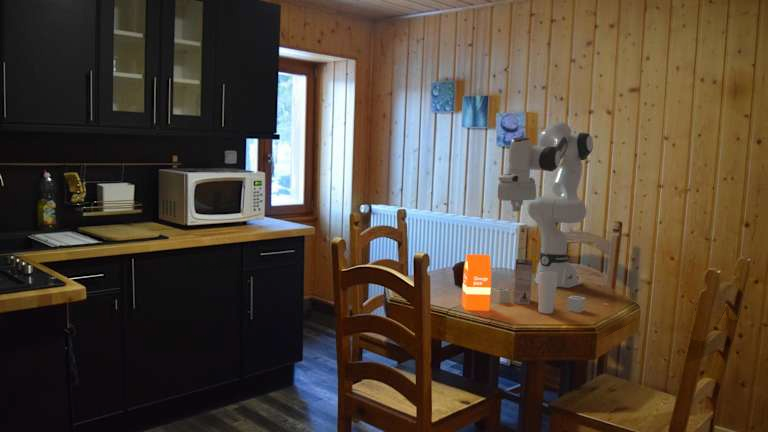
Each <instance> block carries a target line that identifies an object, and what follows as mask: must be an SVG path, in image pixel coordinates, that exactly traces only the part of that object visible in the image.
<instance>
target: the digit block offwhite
mask: <svg viewBox="0 0 768 432" xmlns="http://www.w3.org/2000/svg"><path fill="white" fill-rule="evenodd" d="M566 303H567V305H566V311H568V312H572V311H573V312H572V313H577V312H578V314H580V312H581V313H582V311H583V312H584V310H585V311H586V297H584V296H578V295H570V296H568V297H567V302H566Z"/></svg>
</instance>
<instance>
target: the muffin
mask: <svg viewBox="0 0 768 432" xmlns="http://www.w3.org/2000/svg"><path fill="white" fill-rule="evenodd" d="M465 261H466V260H464V261H459V262H456V263H455V264H454V265H453V266H452V268H451V270H452V272H453V280H454V285H455V286H457V287H462V288H463V275H464V265H465Z"/></svg>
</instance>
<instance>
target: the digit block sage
mask: <svg viewBox="0 0 768 432" xmlns="http://www.w3.org/2000/svg"><path fill="white" fill-rule="evenodd" d="M510 297H511V290H510V289H506V288H505V287H504V288H503V287H496V288H495V287H494V288H493V287H491V292H490V302H493V303H496V304H499V305H501V304H510V299H511V298H510Z"/></svg>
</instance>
